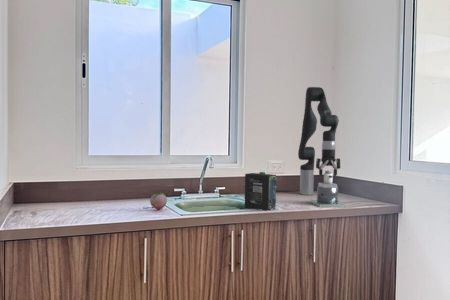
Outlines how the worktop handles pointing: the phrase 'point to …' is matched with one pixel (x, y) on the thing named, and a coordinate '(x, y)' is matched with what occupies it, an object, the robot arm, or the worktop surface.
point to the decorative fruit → (158, 201)
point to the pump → (328, 177)
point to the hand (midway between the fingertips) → (327, 175)
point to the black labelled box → (260, 191)
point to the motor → (327, 196)
